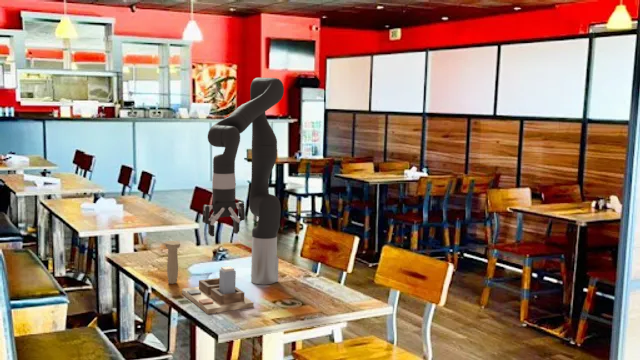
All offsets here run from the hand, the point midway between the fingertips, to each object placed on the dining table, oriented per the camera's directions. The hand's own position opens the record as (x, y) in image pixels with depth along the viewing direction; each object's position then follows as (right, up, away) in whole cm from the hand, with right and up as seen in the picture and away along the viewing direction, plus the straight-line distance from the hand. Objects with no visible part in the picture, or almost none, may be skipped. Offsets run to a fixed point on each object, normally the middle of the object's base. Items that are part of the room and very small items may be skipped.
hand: (223, 234), depth 217 cm
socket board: (-3, -22, +4) cm, 23 cm away
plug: (+1, -22, 0) cm, 22 cm away
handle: (-22, -20, +21) cm, 36 cm away
